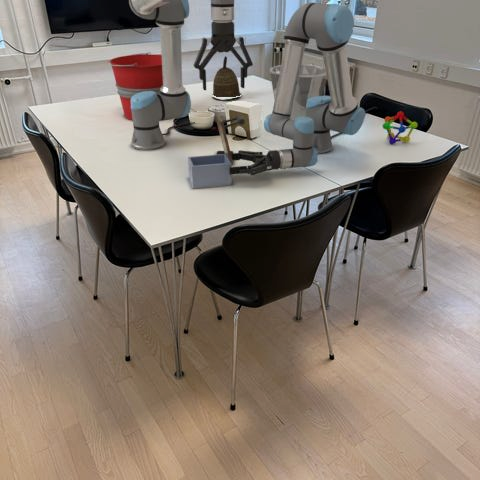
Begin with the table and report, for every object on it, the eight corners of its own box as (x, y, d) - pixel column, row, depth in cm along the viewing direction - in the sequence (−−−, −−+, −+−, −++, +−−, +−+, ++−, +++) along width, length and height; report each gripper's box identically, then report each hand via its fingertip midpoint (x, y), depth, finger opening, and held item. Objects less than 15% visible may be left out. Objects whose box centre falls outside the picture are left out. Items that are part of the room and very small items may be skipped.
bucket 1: (123, 105, 263) (116, 51, 247) (182, 106, 262) (179, 52, 247) (107, 123, 234) (97, 63, 218) (173, 124, 233) (168, 64, 217)
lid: (220, 121, 156) (244, 114, 157) (214, 113, 164) (237, 107, 165) (230, 162, 165) (253, 155, 166) (224, 152, 173) (246, 146, 174)
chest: (193, 188, 167) (191, 166, 162) (189, 178, 175) (187, 156, 170) (231, 184, 170) (231, 163, 165) (226, 174, 178) (225, 153, 173)
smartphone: (215, 163, 186) (217, 150, 198) (215, 165, 186) (217, 152, 199) (232, 163, 186) (233, 150, 198) (232, 165, 186) (233, 152, 199)
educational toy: (377, 146, 209) (379, 114, 202) (384, 138, 219) (386, 107, 211) (411, 149, 202) (415, 116, 195) (417, 141, 212) (420, 109, 204)
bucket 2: (296, 138, 215) (301, 78, 201) (255, 124, 234) (256, 68, 219) (335, 125, 232) (342, 70, 217) (294, 113, 251) (297, 61, 236)
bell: (227, 105, 294) (202, 96, 282) (238, 66, 289) (213, 55, 277) (243, 108, 280) (217, 98, 268) (255, 66, 275) (229, 55, 263)
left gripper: (186, 23, 138) (190, 92, 149) (262, 21, 143) (260, 88, 155) (183, 20, 144) (186, 87, 156) (256, 19, 150) (255, 84, 161)
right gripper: (288, 181, 166) (233, 186, 162) (269, 157, 187) (219, 161, 183) (289, 162, 162) (233, 167, 158) (269, 140, 183) (219, 143, 179)
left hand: (223, 88), depth 155 cm, fingers open, 13 cm apart
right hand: (225, 164), depth 170 cm, fingers open, 13 cm apart
